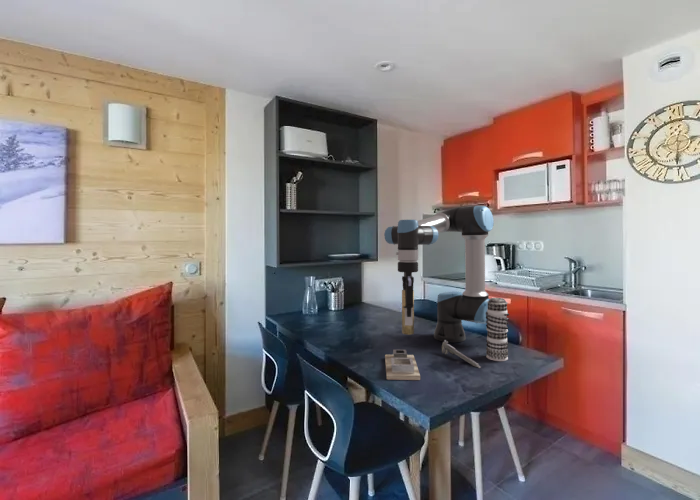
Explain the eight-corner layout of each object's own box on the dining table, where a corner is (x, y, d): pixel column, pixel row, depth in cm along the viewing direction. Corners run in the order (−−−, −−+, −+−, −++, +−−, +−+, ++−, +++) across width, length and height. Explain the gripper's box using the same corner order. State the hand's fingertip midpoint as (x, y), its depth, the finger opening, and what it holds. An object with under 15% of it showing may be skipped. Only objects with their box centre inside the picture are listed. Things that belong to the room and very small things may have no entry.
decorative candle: (500, 353, 153) (500, 296, 152) (513, 360, 144) (514, 300, 143) (481, 354, 151) (481, 297, 150) (493, 362, 142) (493, 301, 141)
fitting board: (420, 380, 126) (420, 367, 126) (386, 379, 127) (386, 367, 127) (413, 358, 148) (413, 347, 148) (385, 358, 149) (384, 347, 149)
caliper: (441, 353, 154) (441, 339, 154) (443, 353, 155) (443, 339, 154) (479, 368, 136) (479, 352, 136) (481, 368, 137) (481, 352, 137)
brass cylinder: (413, 331, 133) (413, 289, 133) (414, 334, 129) (414, 291, 128) (401, 331, 134) (401, 289, 133) (402, 334, 129) (402, 291, 129)
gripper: (395, 259, 139) (396, 317, 140) (399, 263, 122) (399, 329, 123) (414, 259, 139) (414, 318, 140) (421, 263, 121) (421, 329, 122)
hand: (407, 323), depth 131 cm, fingers closed on brass cylinder, 4 cm apart
